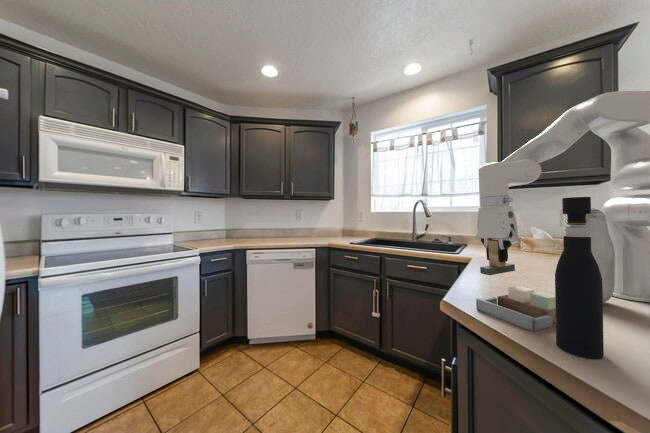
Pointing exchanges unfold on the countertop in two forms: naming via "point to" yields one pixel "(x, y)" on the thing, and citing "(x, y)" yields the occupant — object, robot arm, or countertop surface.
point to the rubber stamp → (495, 261)
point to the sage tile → (543, 300)
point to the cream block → (520, 293)
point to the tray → (513, 315)
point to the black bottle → (578, 287)
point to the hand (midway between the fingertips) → (497, 260)
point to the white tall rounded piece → (601, 249)
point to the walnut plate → (525, 308)
